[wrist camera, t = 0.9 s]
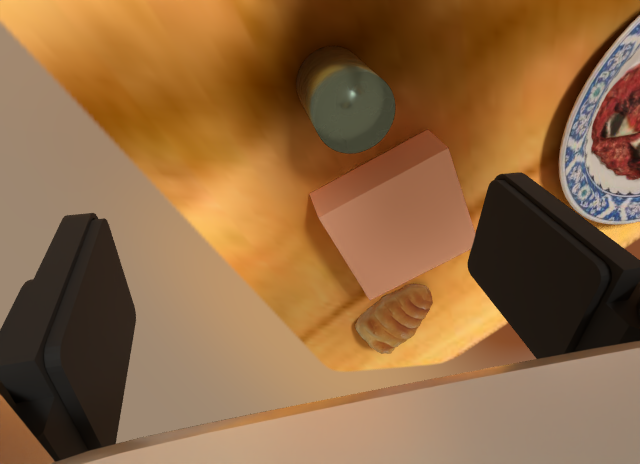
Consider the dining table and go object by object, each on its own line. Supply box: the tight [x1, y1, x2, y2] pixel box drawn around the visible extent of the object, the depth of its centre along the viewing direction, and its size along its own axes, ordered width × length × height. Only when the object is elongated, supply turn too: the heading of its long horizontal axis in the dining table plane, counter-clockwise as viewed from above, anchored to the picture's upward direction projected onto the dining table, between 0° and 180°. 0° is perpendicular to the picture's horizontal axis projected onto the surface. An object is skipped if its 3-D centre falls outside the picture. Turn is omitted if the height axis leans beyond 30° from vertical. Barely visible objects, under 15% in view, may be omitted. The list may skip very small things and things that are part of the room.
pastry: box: [355, 284, 432, 354], centre depth 50 cm, size 9×7×4 cm
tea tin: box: [296, 46, 395, 153], centre depth 31 cm, size 6×6×7 cm
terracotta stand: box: [309, 129, 475, 300], centre depth 41 cm, size 12×12×4 cm
